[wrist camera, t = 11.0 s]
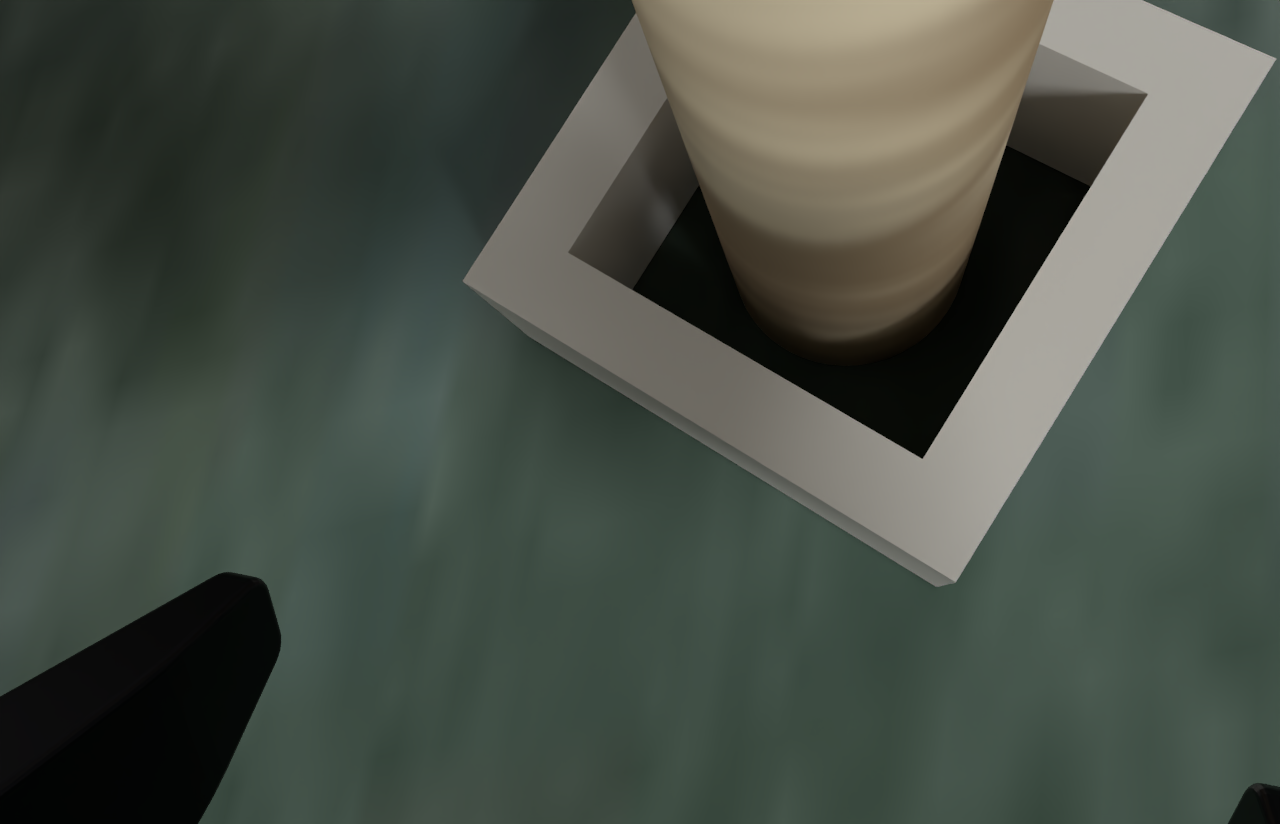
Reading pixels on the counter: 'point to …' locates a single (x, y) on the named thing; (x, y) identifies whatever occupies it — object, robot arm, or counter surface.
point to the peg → (845, 152)
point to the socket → (1020, 357)
